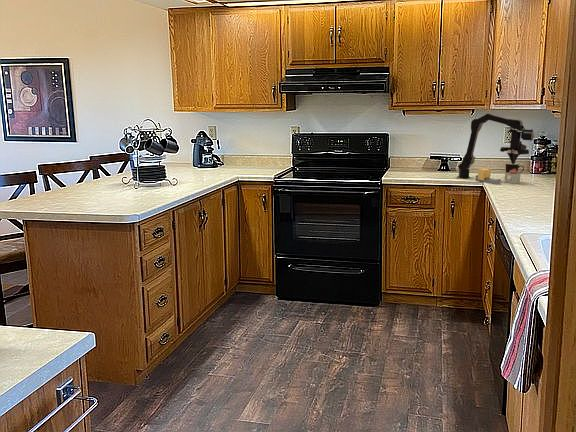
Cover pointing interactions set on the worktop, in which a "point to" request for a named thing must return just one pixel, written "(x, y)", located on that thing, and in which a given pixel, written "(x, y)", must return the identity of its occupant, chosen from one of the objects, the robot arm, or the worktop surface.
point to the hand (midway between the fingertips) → (513, 164)
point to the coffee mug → (512, 167)
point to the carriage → (483, 173)
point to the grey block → (512, 178)
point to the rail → (489, 180)
